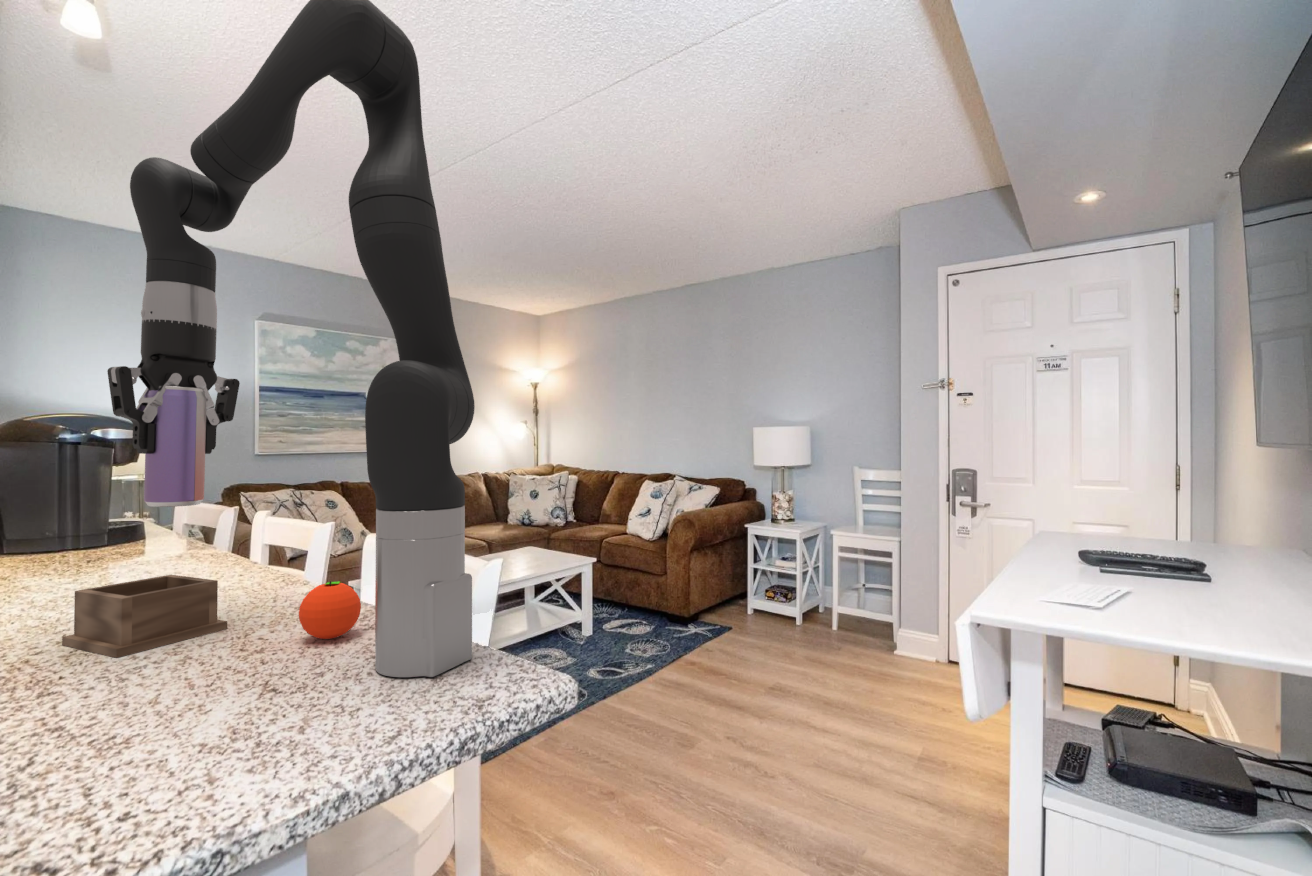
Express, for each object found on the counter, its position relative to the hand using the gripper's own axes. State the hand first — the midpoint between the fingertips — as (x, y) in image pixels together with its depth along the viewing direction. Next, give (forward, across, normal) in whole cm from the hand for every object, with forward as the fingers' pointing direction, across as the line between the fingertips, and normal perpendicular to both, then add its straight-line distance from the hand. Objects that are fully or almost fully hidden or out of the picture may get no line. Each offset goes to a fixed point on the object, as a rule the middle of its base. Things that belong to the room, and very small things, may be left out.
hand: (176, 453), depth 76 cm
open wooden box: (+24, -1, +3) cm, 24 cm away
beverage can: (+7, 0, 0) cm, 7 cm away
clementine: (+23, +8, -19) cm, 31 cm away
